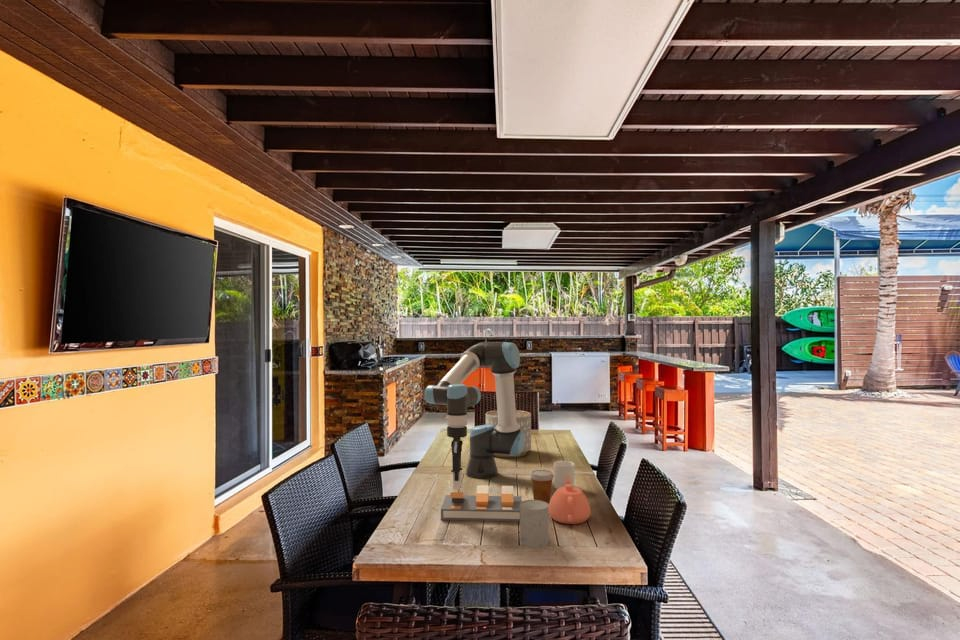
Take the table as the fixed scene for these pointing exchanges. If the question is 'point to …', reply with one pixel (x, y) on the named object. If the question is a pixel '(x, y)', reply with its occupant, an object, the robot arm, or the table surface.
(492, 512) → the console
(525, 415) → the planter
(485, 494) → the rocker
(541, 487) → the disposable coffee cup
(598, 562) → the table surface
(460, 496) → the block
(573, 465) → the mug
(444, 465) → the table surface
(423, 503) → the table surface
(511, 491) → the rocker
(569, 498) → the teapot
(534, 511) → the grey cylinder
